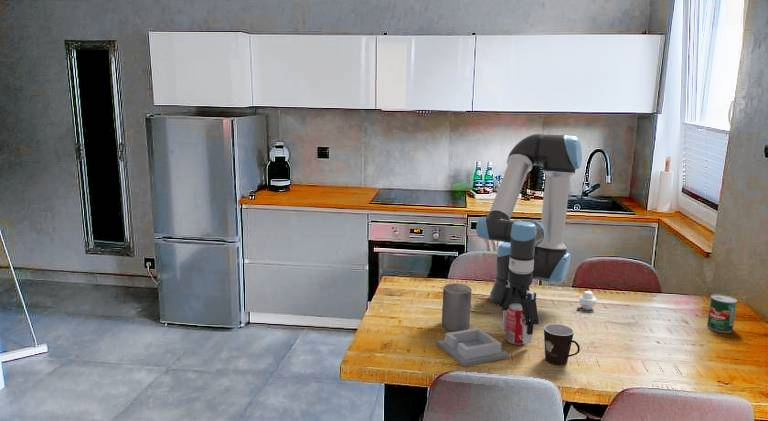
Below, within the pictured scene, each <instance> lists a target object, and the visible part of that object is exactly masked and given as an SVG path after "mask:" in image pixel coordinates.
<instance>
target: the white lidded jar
mask: <svg viewBox="0 0 768 421" xmlns="http://www.w3.org/2000/svg"><path fill="white" fill-rule="evenodd" d="M578 300H579V303H580V305H581V308H582V309H583V310H585V311H590V310H592V309H593V307H594V306H595V305H596V303H597V298H596V297H595V295H594V292H593V291H590V290H584V292H583V293H582V294H581V295H580V296H579V298H578Z"/></svg>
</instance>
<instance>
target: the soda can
mask: <svg viewBox="0 0 768 421" xmlns="http://www.w3.org/2000/svg"><path fill="white" fill-rule="evenodd" d="M525 323H526V321H525V317H524V313H523V310H522V306H521V304H518V303H514V304H510V305H509V308H508V310H507V315H506V329H505V332H504V335H505V337H504V338H505V340H506V341H507V342H508V343H509V344H512V345H515V346H517V345H519V346H520V345H523V334H524V324H525Z"/></svg>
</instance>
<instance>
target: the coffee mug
mask: <svg viewBox="0 0 768 421" xmlns="http://www.w3.org/2000/svg"><path fill="white" fill-rule="evenodd" d="M574 333H575V330H574V329H573V328H572V327H570V326H568V325H565V324H560V323H548V324H546V325H544V326H543V336H544V337H543V340H544V359H545V361H546V362H547V363H548V364H550V365H553V366H565V365H567V364H568V361H569V360H568V359H569V357H573V356H574V357H575V356H576V355H577V354H579V353H580V351H581V349H580V348H581V347H580V344H579V343H578V342H577V341H576V340H573V338H574ZM573 343H574V344H575V346H576V348H577V350H576V352H574V353H570V352H571V348H572V344H573Z"/></svg>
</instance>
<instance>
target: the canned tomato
mask: <svg viewBox="0 0 768 421" xmlns="http://www.w3.org/2000/svg"><path fill="white" fill-rule="evenodd" d="M709 300H710V303H709V309H708V314H707V324H706V327H707V328H708V329H710V330H712V331H715V332H719V333H723V334H724V333H726V334H727V333H728V334H729V333H732V332H733V330H734V325H735V318H736V313H737V312H736V311H737V304H738V300H737V299H736V298H735V297H733V296H729V295H725V294H718V293H717V294H711V296H710V299H709Z"/></svg>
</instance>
